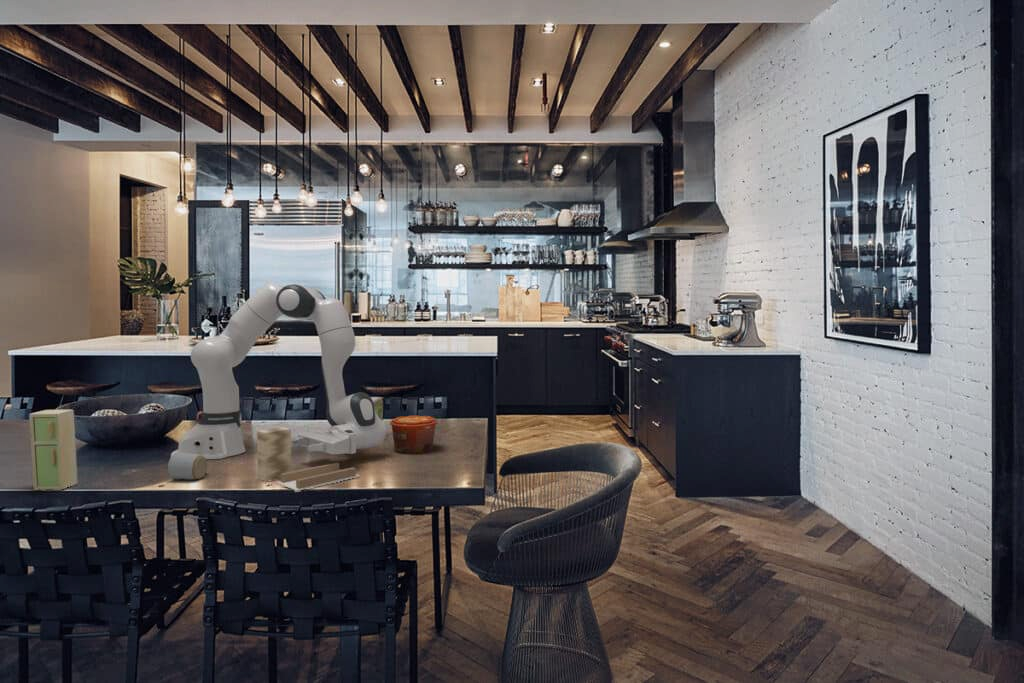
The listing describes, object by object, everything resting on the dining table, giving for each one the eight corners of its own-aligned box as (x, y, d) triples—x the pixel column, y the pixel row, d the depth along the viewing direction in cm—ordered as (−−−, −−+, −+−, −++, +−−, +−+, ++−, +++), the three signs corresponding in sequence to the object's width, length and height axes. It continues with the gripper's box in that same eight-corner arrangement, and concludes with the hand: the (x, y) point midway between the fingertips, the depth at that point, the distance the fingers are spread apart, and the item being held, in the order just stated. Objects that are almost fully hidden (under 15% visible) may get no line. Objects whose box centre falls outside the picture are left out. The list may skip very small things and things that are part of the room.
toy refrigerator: (30, 491, 177) (26, 413, 176) (49, 484, 184) (46, 409, 183) (60, 491, 177) (56, 413, 176) (78, 484, 184) (75, 409, 183)
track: (296, 492, 177) (296, 481, 177) (276, 484, 184) (276, 474, 184) (359, 477, 192) (359, 467, 191) (338, 470, 199) (338, 461, 199)
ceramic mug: (194, 483, 186) (194, 455, 185) (167, 482, 186) (166, 455, 186) (215, 473, 196) (214, 448, 196) (189, 473, 197) (188, 447, 196)
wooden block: (265, 482, 187) (264, 433, 186) (258, 479, 190) (257, 430, 189) (291, 476, 192) (290, 429, 192) (283, 473, 195) (283, 427, 195)
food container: (410, 443, 238) (410, 413, 237) (446, 448, 230) (446, 417, 229) (380, 451, 224) (379, 420, 224) (417, 457, 216) (417, 425, 216)
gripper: (321, 424, 213) (281, 430, 203) (358, 433, 200) (317, 440, 190) (321, 444, 214) (282, 451, 204) (358, 454, 200) (318, 462, 190)
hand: (299, 446), depth 196 cm, fingers open, 8 cm apart
